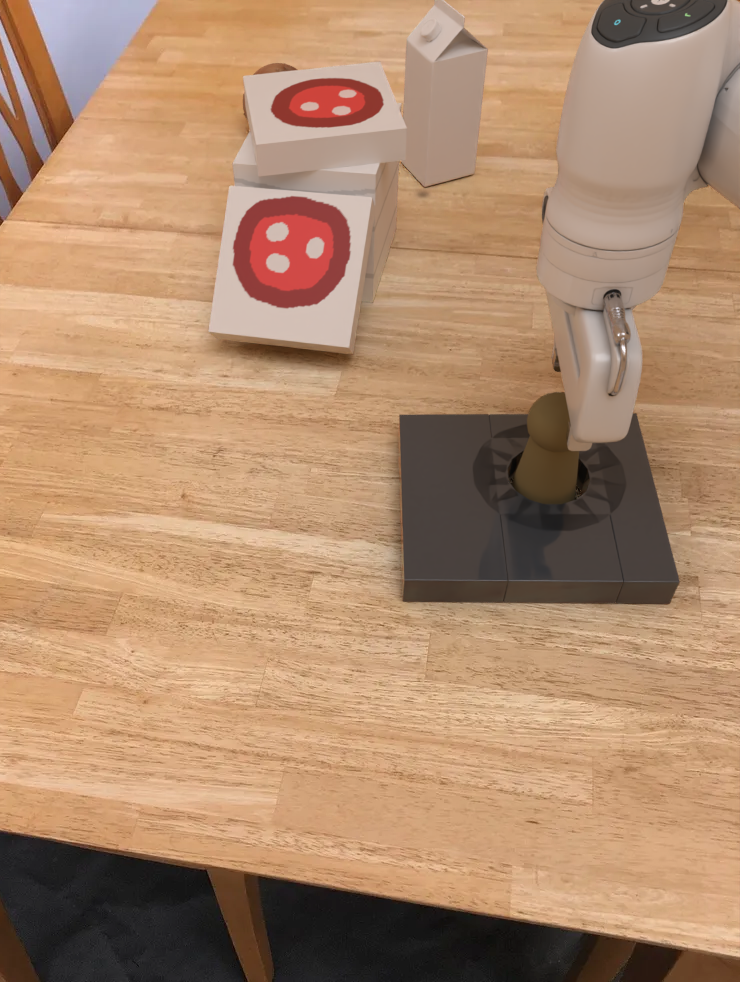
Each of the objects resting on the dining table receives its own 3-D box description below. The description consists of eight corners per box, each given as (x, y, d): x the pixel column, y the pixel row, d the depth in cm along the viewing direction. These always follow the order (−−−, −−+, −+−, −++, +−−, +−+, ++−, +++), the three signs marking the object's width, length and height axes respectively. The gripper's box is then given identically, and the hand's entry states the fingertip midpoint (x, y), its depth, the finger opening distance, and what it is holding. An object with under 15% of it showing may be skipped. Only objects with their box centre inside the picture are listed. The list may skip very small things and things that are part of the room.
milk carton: (449, 150, 122) (463, -12, 107) (474, 175, 118) (492, 10, 103) (400, 162, 121) (407, 0, 106) (424, 188, 117) (435, 23, 102)
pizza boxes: (195, 359, 99) (169, 200, 84) (267, 208, 116) (255, 54, 101) (372, 380, 95) (375, 218, 81) (419, 221, 112) (428, 63, 98)
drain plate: (629, 436, 88) (636, 412, 86) (669, 604, 76) (680, 582, 74) (398, 437, 90) (399, 414, 88) (402, 602, 78) (404, 580, 76)
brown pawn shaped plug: (543, 533, 82) (566, 441, 73) (493, 496, 85) (509, 403, 76) (588, 499, 84) (616, 406, 75) (538, 464, 87) (559, 371, 78)
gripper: (680, 346, 58) (630, 497, 69) (626, 174, 70) (591, 325, 81) (577, 349, 58) (544, 498, 70) (541, 177, 71) (518, 327, 82)
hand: (569, 404), depth 75 cm, fingers open, 8 cm apart
